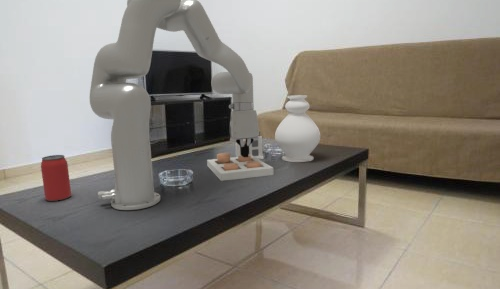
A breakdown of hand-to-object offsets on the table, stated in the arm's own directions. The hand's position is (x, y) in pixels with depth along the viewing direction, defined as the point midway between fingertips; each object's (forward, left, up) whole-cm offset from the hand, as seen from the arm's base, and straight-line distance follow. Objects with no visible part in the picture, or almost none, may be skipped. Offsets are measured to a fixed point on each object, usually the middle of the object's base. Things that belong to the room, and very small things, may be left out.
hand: (245, 156), depth 132 cm
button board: (-4, -5, -4) cm, 8 cm away
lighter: (+11, +21, -4) cm, 24 cm away
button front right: (0, -10, -3) cm, 11 cm away
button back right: (0, 0, -3) cm, 3 cm away
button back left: (-8, 0, -1) cm, 8 cm away
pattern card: (+5, +10, -4) cm, 12 cm away
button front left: (-8, -10, -3) cm, 13 cm away
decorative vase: (+23, +3, -4) cm, 23 cm away
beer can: (-60, -14, -4) cm, 62 cm away
